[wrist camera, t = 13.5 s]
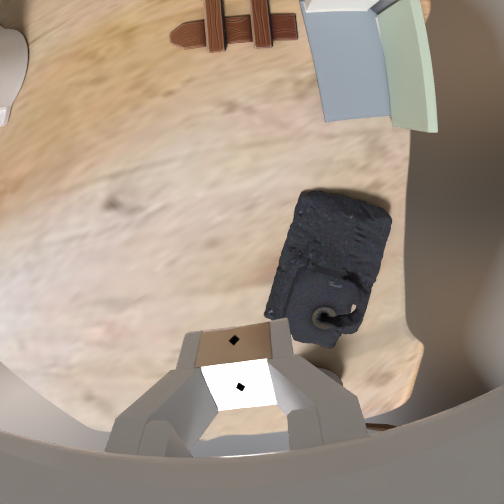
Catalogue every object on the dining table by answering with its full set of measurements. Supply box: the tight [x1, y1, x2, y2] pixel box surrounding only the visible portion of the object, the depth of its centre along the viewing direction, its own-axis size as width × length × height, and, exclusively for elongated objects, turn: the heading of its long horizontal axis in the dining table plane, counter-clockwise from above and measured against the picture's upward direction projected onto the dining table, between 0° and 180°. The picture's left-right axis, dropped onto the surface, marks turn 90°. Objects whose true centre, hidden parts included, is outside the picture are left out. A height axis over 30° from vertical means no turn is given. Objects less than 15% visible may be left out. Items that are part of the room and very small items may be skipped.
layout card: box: [299, 1, 391, 122], centre depth 31 cm, size 11×16×1 cm
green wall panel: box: [377, 0, 438, 132], centre depth 27 cm, size 15×1×9 cm, turn 8°
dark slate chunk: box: [264, 191, 392, 349], centre depth 42 cm, size 15×22×5 cm
